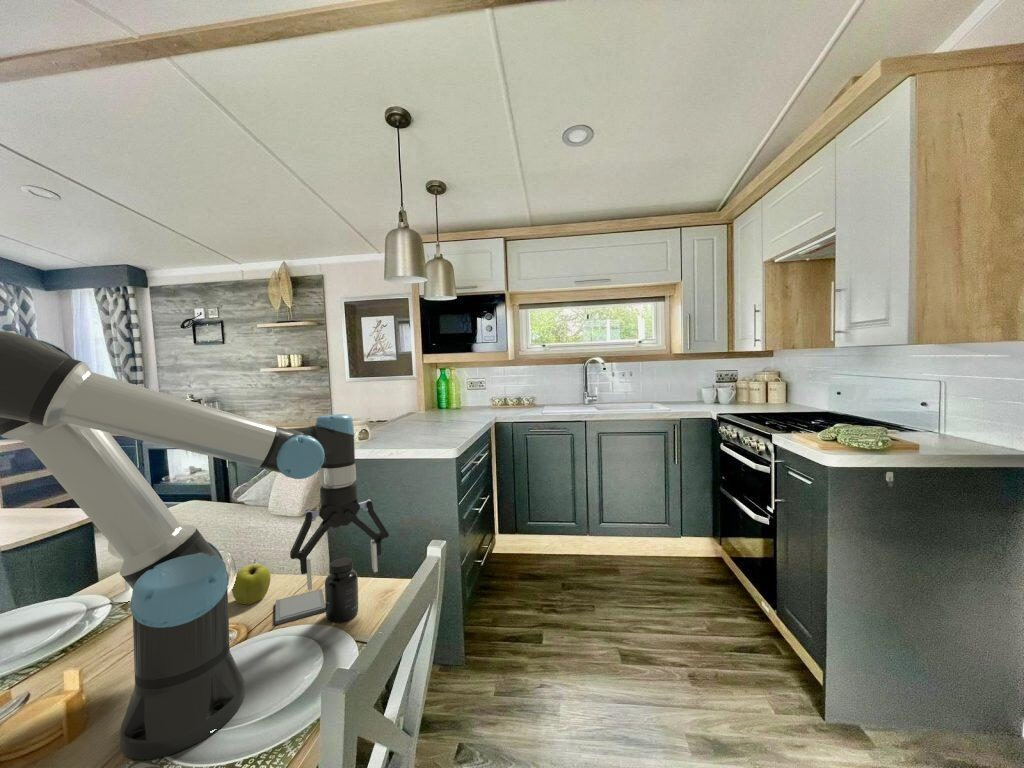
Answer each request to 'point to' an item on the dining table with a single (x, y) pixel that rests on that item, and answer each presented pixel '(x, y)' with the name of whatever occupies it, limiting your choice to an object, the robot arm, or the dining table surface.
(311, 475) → the robot arm
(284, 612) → the slate coaster
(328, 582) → the supplement bottle
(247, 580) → the apple
